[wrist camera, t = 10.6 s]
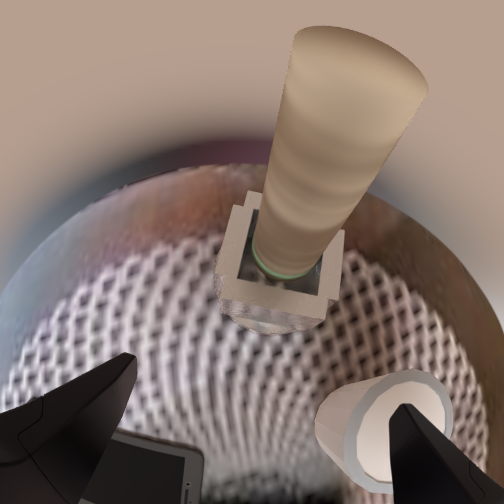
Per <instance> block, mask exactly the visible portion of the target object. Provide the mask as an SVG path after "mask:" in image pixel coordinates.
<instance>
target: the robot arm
mask: <svg viewBox="0 0 504 504" xmlns="http://www.w3.org/2000/svg"><path fill="white" fill-rule="evenodd" d="M136 379H137V358H136V356H135V355H133V354H130V353H127V352H124V353H122V354H120V355H118V356H116V357H114V358H112V359H110V360H109V361H107V362H105V363H103V364H101V365H99V366H97V367H96V368H94V369H92V370H90V371H88V372H86V373H84V374H82V375H81V376H79V377H77V378H75V379H73V380H71V381H69V382H67V383H65V384H63V385H62V386H60V387H58V388H56V389H54V390H52V391H50V392H48V393H46V394H44V397H43V396H40V397H38V398H36V399H34V400H32V401H30V402H28V403H26V404H24V405H21V406H19V407H16V408H14V409H11V410H9V411H6V412H3V413H0V504H78V503H79V501H80V499H81V497H82V495H83V493H84V491H85V489H86V487H87V485H88V483H89V481H90V479H91V477H92V475H93V473H94V471H95V469H96V467H97V465H98V463H99V461H100V459H101V457H102V455H103V453H104V451H105V449H106V447H107V445H108V443H109V441H110V439H111V437H112V435H113V433H114V432H115V430H116V428H117V426H118V424H119V422H120V420H121V418H122V416H123V413H124V411H125V408H126V405H127V403H128V400H129V397H130V395H131V392H132V389H133V387H134V384H135V382H136ZM389 454H390V466H391V475H392V485H393V496H394V504H504V488H503V487H501V486H500V485H499V484H497V483H496V482H495V481H494V480H492V479H491V478H490V477H489V476H487V475H486V474H485V473H484V472H483V471H482V470H481V469H479V468H478V467H477V466H476V465H475V464H474V463H473V462H472V461H471V460H469V458H468V457H467V456H466V455H465V454H464V453H463V452H462V451H460V450H459V449H458V448H457V447H456V446H455V445H454V444H453V443H452V442H451V441H450V440H449V439H448V438H447V437H446V436H445V435H444V434H443V433H442V432H441V431H440V430H439V429H438V428H436V427H435V426H434V425H433V424H432V423H431V422H430V421H429V420H428V419H427V418H426V417H425V416H424V415H423V414H422V413H421V412H420V411H419V410H418V409H417V408H416V407H415V406H414V405H412V404H410V403H402V404H400V405H399V406H398V408H397V409H396V410H395V412H394V413H393V414H392V416H391V417H390V419H389Z"/></svg>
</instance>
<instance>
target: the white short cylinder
mask: <svg viewBox="0 0 504 504" xmlns="http://www.w3.org/2000/svg"><path fill="white" fill-rule="evenodd" d="M402 403H410V404H412V405H414V406H415V407H416V408H417V409H418V410H419V411H420V412H421V413H422V414H423V415H424V416H425V417H426V418H427V419H428V420H429V421H430V422H431V423H432V424H433V425H434V426H435V427H436V428H438V429H439V430H440V431H441V432H442V433H443V434H444V435H445V436H446V437H447V438H448V439H450V436H451V432H452V429H453V405H452V403H451V400H450V398H449V395H448V392H447V390H446V387H445V386H444V385H443V384H442V383H441V382H440V381H439V380H438V379H437V378H436V377H435V376H433V375H432V374H431V373H427V372H424V371H420V370H416V369H408V370H404V371H399V372H394V373H389V374H386V375H382V376H379V377H375V378H372V379H368V380H364V381H360V382H356V383H352V384H348V385H343V386H342V387H340V388H338V389H337V390H335V391H333V392H331V393H330V394H329V395H328V396H327V397H326V399H325V400H324V401H323V402H322V403H321V405H320V406H319V409H318V412H317V414H316V417H315V420H314V423H315V436H316V438H317V440H318V442H319V444H320V446H321V448H322V449H323V450H324V451H325V452H326V453H327V454H328V455H329V456H330V458H331V459H332V460H333V461H334V462H335V463H336V464H337V465H338V466H339V467H340V468H341V469H342V470H343V471H344V472H345V473H346V474H347V475H348V476H349V477H350V478H351V479H352V481H353V482H355V483H356V484H358V485H360V486H361V487H363V488H364V489H366V490H368V491H369V492H371V493H386V494H393V485H392V475H391V466H390V454H389V419H390V417H391V416H392V414H393V413H394V412H395V410H396V409H397V408H398V406H399V405H400V404H402Z"/></svg>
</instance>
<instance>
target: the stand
mask: <svg viewBox="0 0 504 504" xmlns="http://www.w3.org/2000/svg"><path fill="white" fill-rule="evenodd" d="M261 199H262V193H258V192H253V191H249V190H248V192H247V195H246V199H245V203H244V206H239V205H235V204H233V208H232V211H231V215H230V219H229V222H228V226H227V229H226V233H225V236H224V240H223V244H222V247H221V249H220V251H219V253H218V255H217V258H216V261H215V266H214V284H215V291H216V295H217V298H218V300H219V303H220V305H221V313H223V314H227V315H228V316H229V317H230V318H231V319H232V320H233V321H234V322H235V323H237V324H238V325H239V326H241V327H242V328H244V329H246V330H248V331H251V332H253V333H256V334H260V335H267V336H278V335H285V334H288V333H292V332H294V331H296V330H303V331H308V330H310V329H311V328H313V327H315V326H316V325H318V324H319V323H321V322H323V321H324V320H325V318H326V311H327V309H328V308H329V307H330V306H332V305H333V304H334V303H336V302H337V301H338V300H339V291H340V281H341V271H342V260H343V247H344V234H345V230H341V229H340V230H339V231H338V233H337V234H336V235H335V237H334V238H333V240H332V241H331V242H330V244H329V245H328V247H327V248H326V249H325V251H324V252H323V254H322V255H321V256H320V258H319V260H318V262H317V263H316V265H315V266H314V268H313V269H312V270H311V271H310V272H309V273H308V274H307V275H305V276H304V277H303V278H301V279H299V280H296V281H293V282H279V281H276V280H273V279H270V278H269V277H267V276H266V275H264V274H263V273H262V272H261V271H260V270H259V269H258V267H257V266H256V264H255V262H254V260H253V256H252V239H253V234H254V231H255V229H256V224H257V219H258V214H259V209H260V204H261Z"/></svg>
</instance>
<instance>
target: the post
mask: <svg viewBox="0 0 504 504" xmlns="http://www.w3.org/2000/svg"><path fill="white" fill-rule="evenodd" d="M427 92H428V85H427V82H426V80H425V78H424V76H423V74H422V73H421V72H420V70H419V69H418V68H417V67H416V66H415V65H414V64H413V63H412V62H411V61H409V59H407V58H406V57H405V56H404V55H402V54H401V53H400V52H398V51H396V50H395V49H394V48H392V47H390V46H389V45H387V44H385V43H383V42H381V41H379V40H377V39H375V38H373V37H370V36H368V35H365V34H362V33H359V32H356V31H353V30H349V29H345V28H340V27H333V26H312V27H307V28H304V29H302V30H300V31H298V32H297V33H296V34H295V36H294V40H293V45H292V50H291V55H290V60H289V65H288V70H287V75H286V80H285V85H284V89H283V95H282V100H281V104H280V109H279V115H278V119H277V125H276V129H275V134H274V139H273V144H272V150H271V154H270V159H269V164H268V169H267V174H266V179H265V184H264V189H263V194H262V199H261V204H260V209H259V214H258V219H257V224H256V229H255V231H254V234H253V239H252V256H253V260H254V262H255V264H256V266H257V267H258V269H259V270H260V271H261V272H262V273H263V274H264V275H266V276H267V277H269V278H270V279H273V280H276V281H279V282H293V281H296V280H299V279H301V278H303V277H304V276H305V275H307V274H308V273H309V272H310V271H311V270H312V269H313V268H314V266H315V265H316V263H317V262H318V260H319V258H320V256H321V255H322V254H323V252H324V251H325V249H326V248H327V247H328V245H329V244H330V242H331V241H332V240H333V238H334V237H335V235H336V234H337V233H338V231H339V230H340V228H341V227H342V225H343V224H344V223H345V221H346V220H347V218H348V217H349V215H350V214H351V213H352V211H353V210H354V208H355V207H356V205H357V204H358V202H359V201H360V199H361V198H362V196H363V195H364V193H365V192H366V190H367V189H368V187H369V186H370V184H371V183H372V181H373V180H374V178H375V177H376V175H377V174H378V172H379V171H380V169H381V168H382V166H383V165H384V163H385V161H386V160H387V158H388V157H389V155H390V153H391V152H392V150H393V149H394V147H395V146H396V144H397V142H398V141H399V139H400V137H401V136H402V134H403V133H404V131H405V129H406V128H407V126H408V125H409V123H410V121H411V120H412V118H413V116H414V115H415V113H416V111H417V110H418V108H419V106H420V105H421V103H422V101H423V99H424V98H425V96H426V94H427Z"/></svg>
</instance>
